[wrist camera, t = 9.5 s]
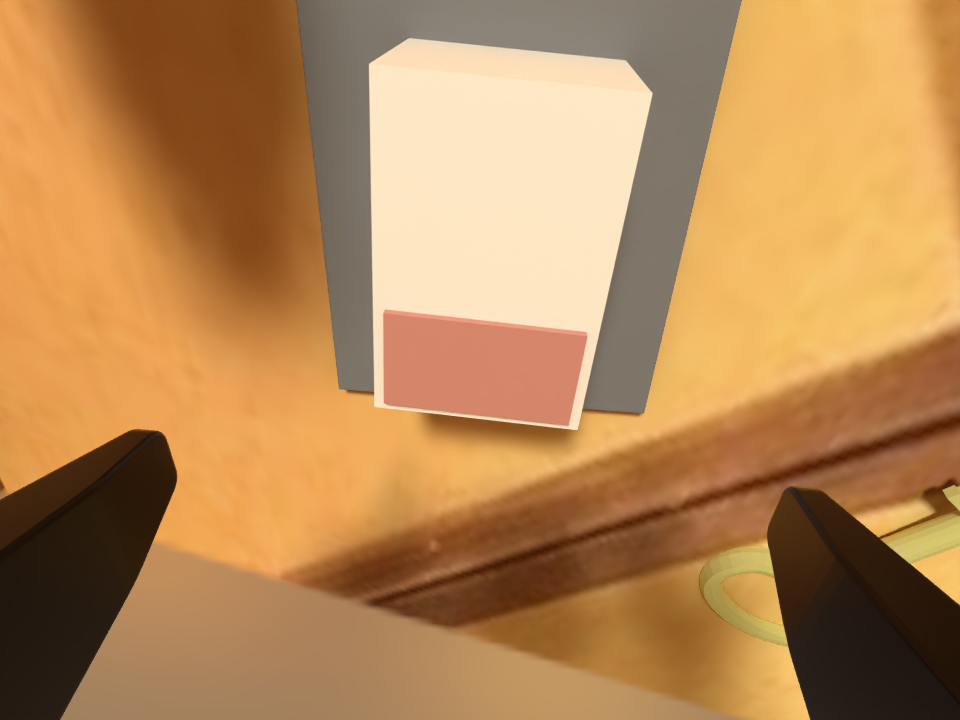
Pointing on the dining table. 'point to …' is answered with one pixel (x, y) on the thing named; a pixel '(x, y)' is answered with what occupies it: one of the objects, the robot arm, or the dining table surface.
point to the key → (756, 559)
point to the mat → (536, 27)
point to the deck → (496, 224)
